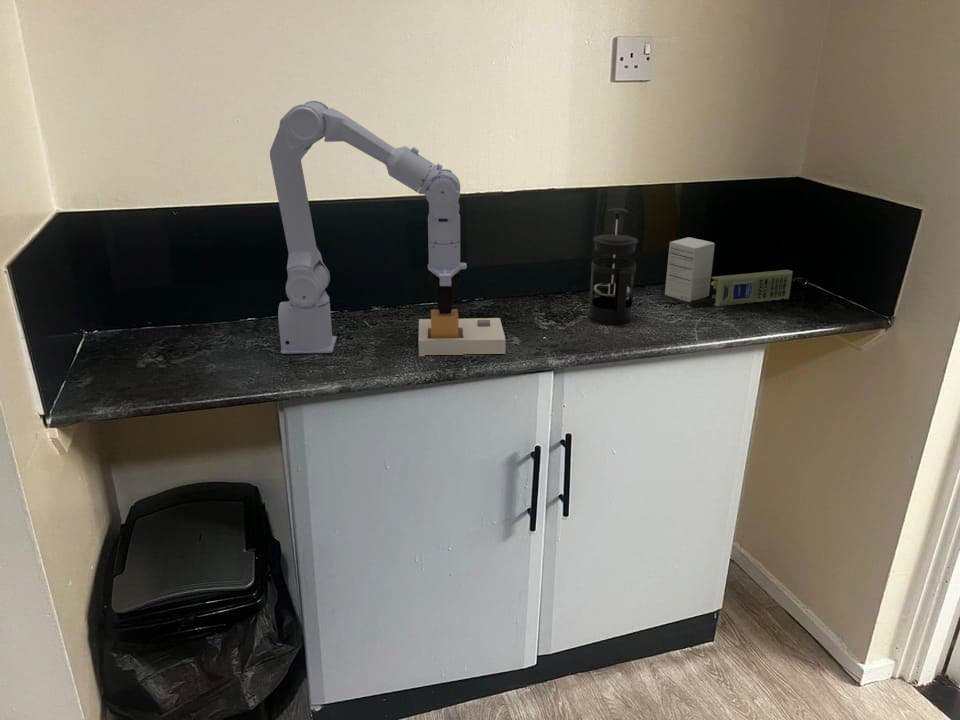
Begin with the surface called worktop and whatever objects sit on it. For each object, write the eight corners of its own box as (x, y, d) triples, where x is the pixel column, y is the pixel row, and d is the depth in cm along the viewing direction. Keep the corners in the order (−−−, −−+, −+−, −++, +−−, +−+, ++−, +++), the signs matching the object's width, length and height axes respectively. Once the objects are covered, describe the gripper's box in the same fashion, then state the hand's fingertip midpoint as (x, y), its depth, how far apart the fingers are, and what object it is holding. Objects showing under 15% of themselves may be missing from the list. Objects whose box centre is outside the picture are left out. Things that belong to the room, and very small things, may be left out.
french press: (580, 311, 167) (587, 204, 158) (622, 308, 169) (630, 203, 160) (597, 329, 157) (605, 216, 148) (641, 327, 158) (652, 214, 149)
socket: (418, 356, 143) (418, 337, 141) (419, 333, 154) (418, 315, 152) (505, 354, 144) (505, 335, 142) (499, 332, 155) (500, 314, 153)
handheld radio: (791, 300, 176) (695, 311, 168) (781, 296, 179) (687, 306, 171) (795, 271, 173) (698, 281, 166) (785, 268, 176) (690, 277, 169)
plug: (431, 352, 145) (431, 316, 142) (431, 344, 148) (430, 309, 146) (458, 351, 145) (458, 316, 142) (457, 343, 149) (457, 309, 146)
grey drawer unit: (683, 289, 183) (688, 236, 178) (709, 296, 177) (716, 242, 173) (663, 295, 178) (668, 241, 173) (690, 302, 173) (696, 247, 168)
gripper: (468, 250, 132) (468, 325, 137) (464, 231, 146) (464, 300, 151) (427, 250, 132) (428, 325, 137) (427, 231, 145) (428, 300, 150)
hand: (445, 312), depth 144 cm, fingers closed
